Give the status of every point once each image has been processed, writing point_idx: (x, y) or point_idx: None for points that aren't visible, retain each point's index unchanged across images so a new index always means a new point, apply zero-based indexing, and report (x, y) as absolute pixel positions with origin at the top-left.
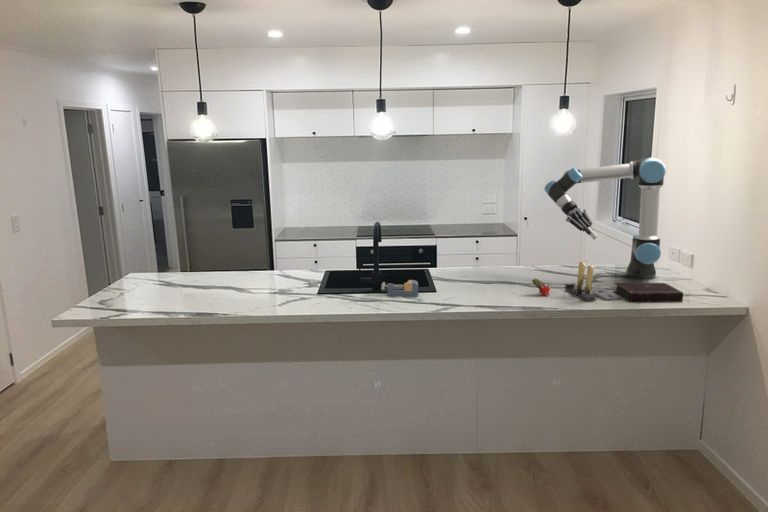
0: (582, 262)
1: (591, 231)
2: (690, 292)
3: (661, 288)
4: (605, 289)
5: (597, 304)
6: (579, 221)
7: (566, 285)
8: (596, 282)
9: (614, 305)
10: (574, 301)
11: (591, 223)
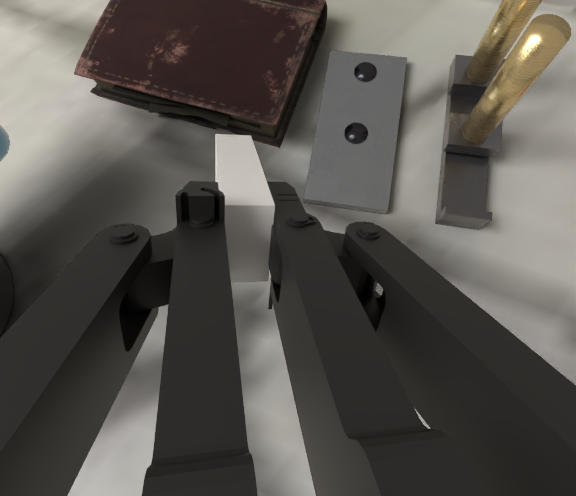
0: (540, 38)
1: (259, 167)
2: (26, 48)
3: (159, 12)
4: (317, 148)
5: (467, 39)
6: (376, 347)
7: (490, 215)
8: (239, 286)
9: (412, 14)
10: (535, 92)
11: (129, 227)
